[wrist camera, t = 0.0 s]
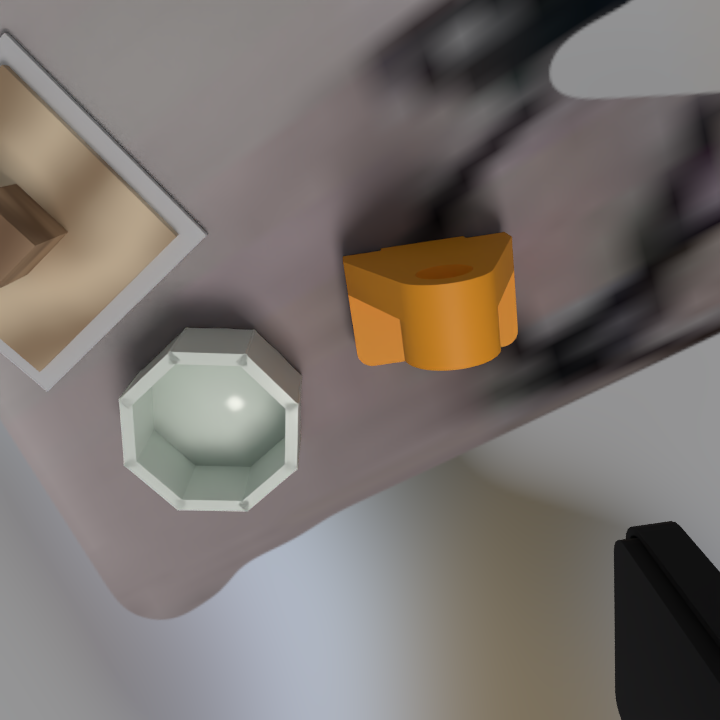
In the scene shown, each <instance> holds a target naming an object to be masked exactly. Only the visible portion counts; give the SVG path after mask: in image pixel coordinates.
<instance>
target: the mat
mask: <svg viewBox="0 0 720 720" xmlns="http://www.w3.org/2000/svg"><path fill="white" fill-rule="evenodd" d="M1 65H7V66H9V67H10V68H11V69H12V70H13V71H14V72H15V73H16V74H17V75H18V76H19V77H20V78H21V79H22V80H23V81H24V82H25V83H26V84H27V85H28V86H29V87H30V88H31V89H32V90H33V91H35V92H36V93H37V94H38V95H39V96H40V97H41V98H42V99H43V100H44V101H45V102H46V103H47V104H48V105H49V106H50V107H51V108H52V109H53V110H54V111H55V112H56V113H57V114H58V115H59V116H60V117H61V118H62V119H63V120H64V121H65V122H66V123H67V124H68V125H69V126H70V127H71V128H72V129H73V130H74V131H75V132H76V133H77V134H78V135H79V136H80V137H81V138H82V139H83V140H84V141H85V142H86V143H87V144H88V145H89V146H90V147H91V148H92V149H93V150H94V151H95V152H96V153H97V154H98V155H99V156H100V157H101V158H102V159H103V160H104V161H105V162H106V163H107V164H108V165H109V166H110V167H111V168H112V169H113V170H114V171H115V172H116V173H117V174H118V175H119V176H120V177H121V178H122V179H123V180H124V181H125V182H126V183H128V184H129V185H130V186H131V187H132V188H133V189H134V190H135V191H136V192H137V193H138V194H139V195H140V196H141V197H142V198H143V199H144V200H145V201H146V202H147V203H148V204H149V205H150V206H151V207H152V208H153V209H154V210H155V211H156V212H157V213H158V214H159V215H160V216H161V217H162V218H163V219H164V220H165V221H166V222H167V223H168V224H169V225H170V226H171V227H172V228H173V229H174V230H175V231H176V232H177V233H178V234H179V235H178V236H177V237H176V238H175V239H174V240H173V241H172V242H171V243H170V244H169V245H168V246H167V247H166V248H165V249H164V250H163V251H162V252H161V253H160V254H159V255H158V256H157V257H156V258H155V259H154V260H153V261H152V262H151V263H150V264H149V265H148V266H147V267H146V268H145V269H144V270H143V271H142V272H141V273H140V274H139V275H138V276H137V277H136V278H135V279H134V280H133V281H132V282H131V283H129V284H128V285H127V286H126V287H125V288H124V289H123V290H122V291H121V292H120V293H119V294H118V295H117V296H116V297H115V298H114V299H113V300H112V301H111V302H110V303H109V304H108V305H107V306H106V307H105V308H104V309H103V310H102V311H101V312H100V313H99V314H98V315H97V316H96V317H95V318H94V319H93V320H92V321H91V322H90V323H89V324H88V325H87V326H86V327H85V328H84V329H83V330H82V331H81V332H80V333H79V334H78V335H77V336H76V337H75V338H74V339H73V340H72V341H71V342H70V343H69V344H68V345H67V346H66V347H65V348H64V349H63V350H62V351H61V352H60V353H59V354H58V355H57V356H56V357H55V358H54V359H53V360H52V361H51V362H50V363H49V364H48V365H47V366H46V367H45V368H44V369H43V370H42V371H40V372H39V371H38V370H36V369H35V368H34V367H33V366H32V365H31V364H29V363H28V362H27V361H26V360H25V359H23V358H22V357H21V356H20V355H19V354H18V353H16V352H15V351H14V350H13V349H12V348H10V347H9V346H8V345H7V344H6V343H5V342H3V341H2V340H1V339H0V353H2V354H3V355H4V356H5V357H6V358H8V359H9V360H10V361H11V362H12V363H14V364H15V365H16V366H17V367H18V368H19V369H21V370H22V371H23V372H24V373H25V374H27V375H28V376H29V377H30V378H31V379H33V380H34V381H35V382H36V383H37V384H39V385H40V386H41V387H42V388H43V389H44V390H46V391H47V392H48V391H49V390H50V389H51V388H52V387H53V386H54V385H55V384H56V383H57V382H58V381H59V380H60V379H61V378H62V377H63V376H64V375H65V374H66V373H67V372H68V371H69V370H70V369H71V368H72V367H73V366H74V365H75V364H76V363H77V362H78V361H79V360H80V359H81V358H82V357H83V356H84V355H85V354H86V353H87V352H88V351H89V350H90V349H92V348H93V347H94V346H95V345H96V344H97V343H98V342H99V341H100V340H101V339H102V338H103V337H104V336H105V335H106V334H107V333H108V332H109V331H110V330H111V329H112V328H113V327H114V326H115V325H116V324H117V323H118V322H119V321H120V320H121V319H122V318H123V317H124V316H125V315H126V314H127V313H128V312H129V311H130V310H131V309H132V308H133V307H134V306H135V305H136V304H137V303H138V302H139V301H140V300H141V299H142V298H143V297H144V296H145V295H147V294H148V293H149V292H150V291H151V290H152V289H153V288H154V287H155V286H156V285H157V284H158V283H159V282H160V281H161V280H162V279H163V278H164V277H165V276H166V275H167V274H168V273H169V272H170V271H171V270H172V269H173V268H174V267H175V266H176V265H177V264H178V263H179V262H180V261H181V260H182V259H183V258H184V257H185V256H186V255H187V254H188V253H189V252H190V251H191V250H192V249H193V248H194V247H195V246H196V245H197V244H198V243H199V242H200V241H202V240H203V239H204V238H205V237H206V236H207V235H208V233H207V232H206V231H205V230H204V229H203V228H202V227H201V226H200V225H199V224H198V223H197V222H196V221H195V220H194V219H193V218H192V217H191V216H190V215H189V214H188V213H187V212H186V211H185V210H184V209H183V208H182V207H181V206H180V205H179V204H178V203H177V202H176V201H175V200H174V199H173V198H172V197H171V196H170V195H169V194H168V193H167V192H166V191H165V190H164V189H163V188H162V187H161V186H160V185H159V184H158V183H157V182H156V181H155V180H154V179H153V178H152V177H151V176H150V175H149V174H148V173H147V172H146V171H145V170H144V169H143V168H142V167H141V166H140V165H139V164H138V163H137V162H136V161H135V160H134V159H133V158H132V157H131V156H130V155H129V154H128V153H127V152H126V151H125V150H124V149H123V148H122V147H121V146H120V145H119V144H118V143H117V142H116V141H115V140H114V139H113V138H112V137H111V136H110V135H109V134H108V133H107V132H106V131H105V130H104V129H103V128H102V127H101V126H100V125H99V124H98V123H97V122H96V121H95V120H94V119H93V118H92V117H91V116H90V115H89V114H88V113H87V112H86V111H85V110H84V109H83V108H82V107H81V106H80V105H79V104H78V103H77V102H76V101H75V100H74V99H73V98H72V97H71V96H70V95H69V94H68V93H67V92H66V91H65V90H64V89H63V88H62V87H61V86H60V85H59V84H58V83H57V82H56V81H55V80H54V79H53V78H52V77H51V75H50V74H49V73H48V72H47V71H46V70H45V69H44V68H43V67H42V66H41V65H40V64H39V63H38V62H37V61H36V60H35V59H34V58H33V57H32V56H31V55H30V54H29V53H28V52H27V51H26V50H25V49H24V48H23V47H22V46H21V45H20V44H19V43H18V42H17V41H16V40H15V39H14V38H13V37H12V36H11V35H10V34H8V33H4V34H3V35H2V36H1V37H0V66H1Z"/></svg>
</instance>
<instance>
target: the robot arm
mask: <svg viewBox="0 0 720 720" xmlns="http://www.w3.org/2000/svg"><path fill="white" fill-rule="evenodd" d="M614 593H615V595H614V597H615V693H616V702H617V706H618V711H619V714H620V717H621V720H720V572H719V571H718V569H717V568H716V567H715V566H714V565H713V564H712V563H711V562H710V560H709V559H708V558H707V557H706V556H705V554H704V553H703V552H702V551H701V550H700V549H699V547H698V546H697V545H696V544H695V543H694V542H693V541H692V539H691V538H690V537H689V536H688V535H687V534H686V532H685V531H684V530H683V529H682V528H681V527H680V526H679V525H678V524H677V523H676V522H672V521H669V522H662V523H655V524H648V525H641V526H634V527H630V528H629V529H628V531H627V533H626V539H623V540H618V541H616V542H615V545H614Z"/></svg>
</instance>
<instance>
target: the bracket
mask: <svg viewBox="0 0 720 720" xmlns="http://www.w3.org/2000/svg"><path fill="white" fill-rule="evenodd" d="M343 264H344V270H345V277H346V283H347V290H348V296H349V303H350V309H351V316H352V322H353V329H354V335H355V342H356V348H357V355H358V357H359V359H360V360H361V362H363V363H364V364H366V365H369V366H376V365H382V364H389V363H396V362H403V361H406V362H407V363H408V364H410V365H411V366H414V367H416V368H420V369H426V370H439V371H440V370H457V369H464V368H469V367H473V366H477V365H480V364H483V363H486V362H488V361H490V360H492V359H494V358H495V357H496V356H498V354H499V353H500V351H501V347H503V346H507V345H509V344H511V343H512V342H513V341H514V340H515V338H516V336H517V333H518V326H517V311H516V296H515V280H514V265H513V249H512V237H511V236H510V235H508V234H507V233H505V232H502V233H495V234H489V235H482V236H475V237H469V238H465V237H464V236H460V237H454V238H447V239H441V240H434V241H427V242H421V243H414V244H407V245H401V246H394V247H387V248H381V251H375V252H369V253H362V254H356V255H349V256H343Z"/></svg>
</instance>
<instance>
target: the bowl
mask: <svg viewBox="0 0 720 720" xmlns="http://www.w3.org/2000/svg"><path fill="white" fill-rule="evenodd" d="M301 384H302V375H300V374H299V373H298V372H297V371H296V370H295V369H294V368H293V367H292V366H291V365H290V364H289V363H288V362H287V361H286V359H285V358H284V357H283V356H282V355H281V354H280V353H279V352H278V351H277V350H276V349H275V348H274V347H272V346H271V345H270V344H269V343H267V342H266V341H265V340H264V339H263V338H262V337H261V336H260V335H259V334H258V333H257V332H256V330H254V329H253V330H241V329H230V328H188V327H187V328H185V329H184V330H183V332H181V333H180V334H179V335H178V336H177V337H176V338H175V339H174V340H173V341H172V342H171V343H170V344H169V345H168V346H167V347H165V348H164V349H163V350H162V351H161V352H160V353H159V354H158V355H157V356H156V357H155V358H154V359H153V360H152V361H151V362H150V363H149V364H148V365H147V366H146V367H145V368H144V369H143V370H140V372H139V373H138V374H137V376H136V377H135V378H134V379H133V381H132V382H131V383H130V385H129V386H128V387H127V389H126V390H125V391H124V393H123V394H122V395H121V396H120V398H119V400H118V401H119V406H120V419H121V431H122V444H123V456H124V464H123V465H124V467H127V468H128V469H129V470H130V471H132V472H133V473H134V474H135V475H136V476H137V477H139V478H140V479H141V480H142V481H143V482H145V483H146V484H147V485H148V486H149V487H151V488H152V489H153V490H154V491H155V492H157V493H158V494H159V495H160V496H161V497H163V498H164V499H165V500H166V501H167V502H169V503H170V504H171V505H172V506H173V507H175V508H176V510H178V511H179V510H202V511H246V512H247V511H249V510H250V509H251V508H252V507H253V506H254V505H255V504H257V503H258V502H259V501H260V500H261V499H263V498H264V497H265V496H266V495H267V494H268V493H270V492H271V491H272V490H273V489H274V488H276V487H277V486H278V485H279V484H280V483H281V482H283V481H284V480H285V479H286V478H287V477H288V476H290V475H291V474H292V473H293V472H294V471H296V470H297V469H298V463H299V452H300V442H301V434H300V431H301Z"/></svg>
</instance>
